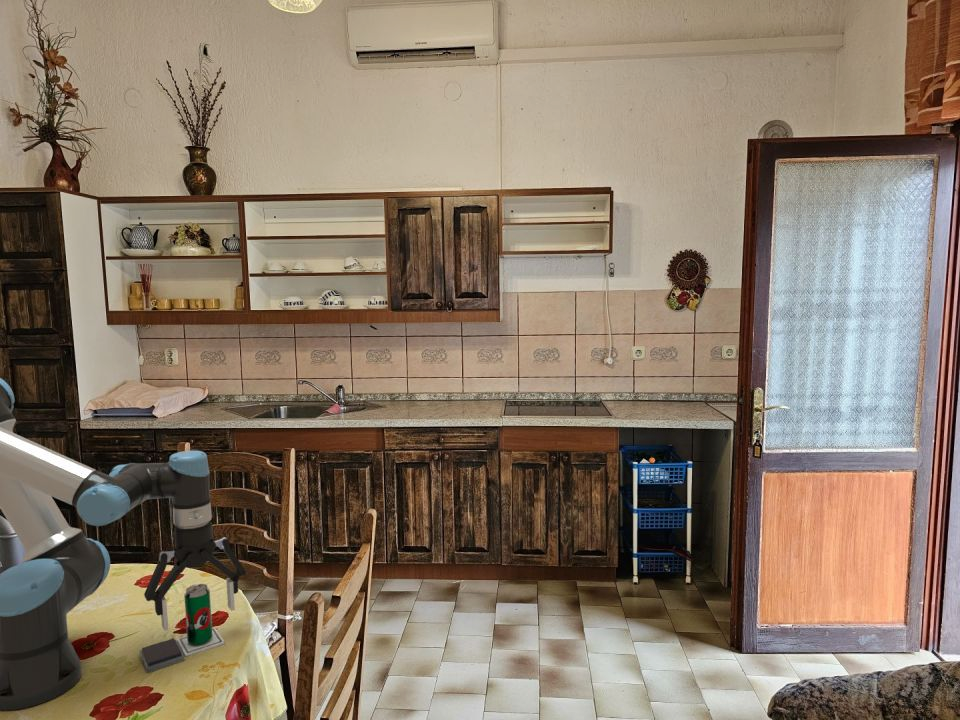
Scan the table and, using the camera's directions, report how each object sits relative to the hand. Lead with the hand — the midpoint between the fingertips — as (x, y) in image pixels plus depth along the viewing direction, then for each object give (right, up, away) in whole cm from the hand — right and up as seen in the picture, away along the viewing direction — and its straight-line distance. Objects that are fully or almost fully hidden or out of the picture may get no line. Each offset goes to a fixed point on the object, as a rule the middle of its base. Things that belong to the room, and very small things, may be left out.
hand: (199, 617), depth 137 cm
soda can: (0, -5, 0) cm, 5 cm away
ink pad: (-5, -6, -5) cm, 10 cm away
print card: (0, -6, +1) cm, 6 cm away
